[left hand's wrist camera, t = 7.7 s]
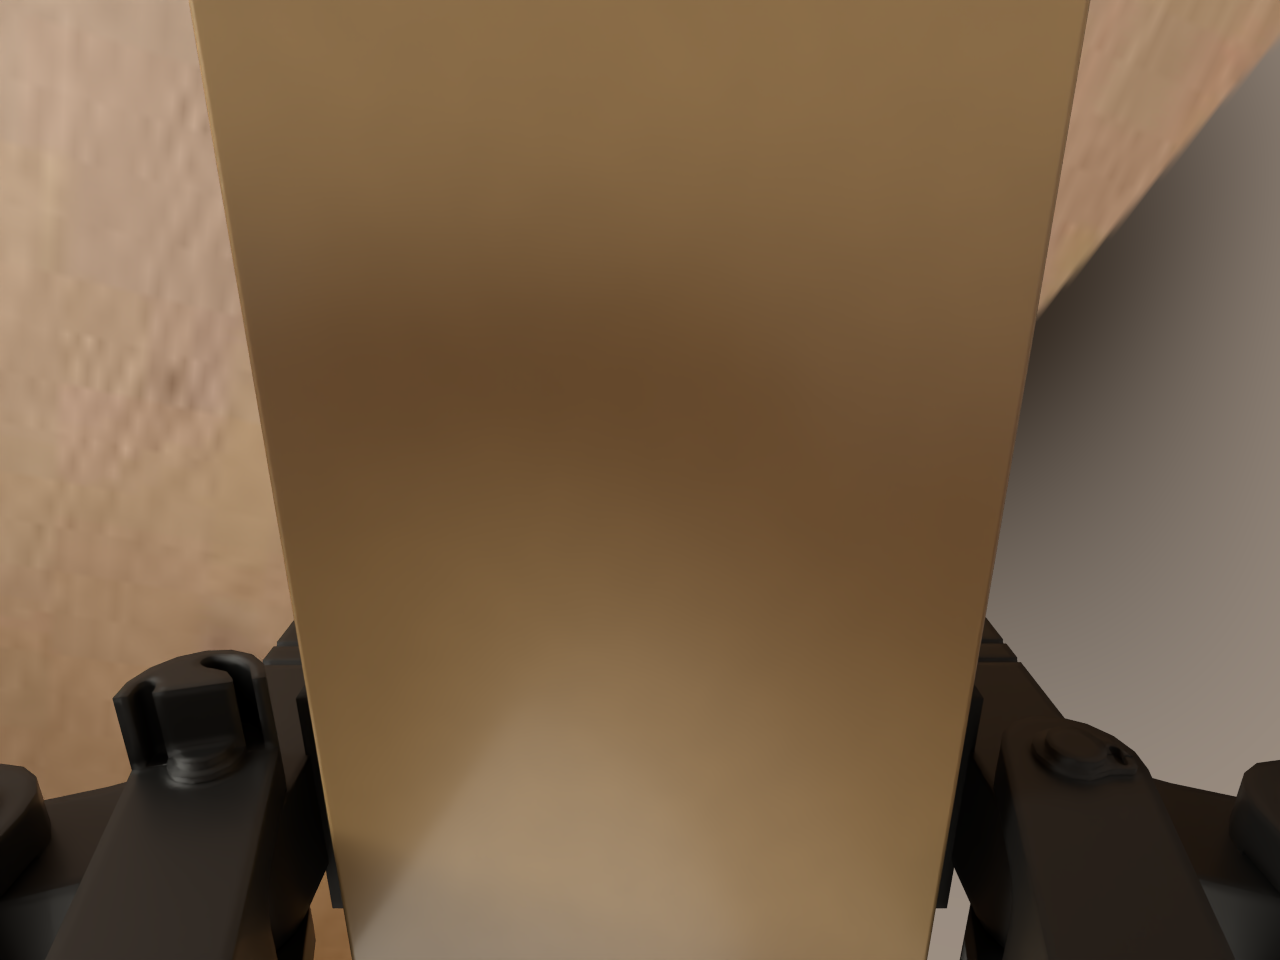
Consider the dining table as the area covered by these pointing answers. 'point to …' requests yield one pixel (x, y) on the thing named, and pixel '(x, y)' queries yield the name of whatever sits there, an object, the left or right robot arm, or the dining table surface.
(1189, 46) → the dining table surface
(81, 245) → the dining table surface
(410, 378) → the bar
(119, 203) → the dining table surface
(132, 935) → the left robot arm
